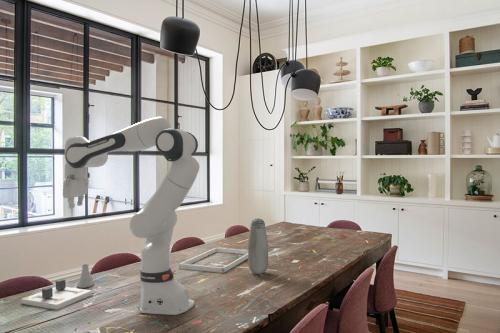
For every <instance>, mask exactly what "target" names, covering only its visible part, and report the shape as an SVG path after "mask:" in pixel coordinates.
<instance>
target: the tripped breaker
mask: <svg viewBox="0 0 500 333" xmlns="http://www.w3.org/2000/svg"><path fill="white" fill-rule="evenodd" d="M52 288H53V287H52V286H46V287H44V288H41V292H42V298H43V299H48V298H50V297H53V289H52Z"/></svg>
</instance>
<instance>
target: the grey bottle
mask: <svg viewBox="0 0 500 333" xmlns="http://www.w3.org/2000/svg"><path fill="white" fill-rule="evenodd" d="M249 227H250V229H249V234H248V239H247V250H248V259H247V261H248V268H249V271H251V273H252V274H255V275H262V274H264V273H266V272H267V271H268V267H269V239H268V235H267V231H266V230H267V229H266V223H265V221H264V219H261V218H260V217H259V218H254V219H253V220H252V221H251V223H250V226H249Z"/></svg>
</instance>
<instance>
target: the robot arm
mask: <svg viewBox="0 0 500 333" xmlns="http://www.w3.org/2000/svg"><path fill="white" fill-rule="evenodd" d="M153 147H156V149H157V151H158V152H159V153H160V154H161V155H162V156H163V157H164V158H165V160H166V161H167V162H171V164H170V167H169V169H168V170H167V171H166V174H165V176H164V177H163V179H162V181H161V182H160V184H159V186H158V187H157V189H156V190H155V192H154V193H153V194H152V196H151V197H150V198H149V199H148V200H147V201H146V202H145V204H144V205H143V206H142V207H141V208H140V209H139V210H138V212H136V213H135V214H134V215H133V216H132V217H131V219H130V220H129V230H130V232H131V234H132V235H133V236H135V237H136V238H138V239H145V240H144V241H145V242H144V245H143V246H142V248H141V252H140V253H141V254H140V258H141V259H140V262H141V263H140V264H141V265H140V266H141V268H140V269H141V270H140V276H139V277H140V281H141V285H140V286H141V287H140V295H139V301H138V303H137V308H138V309H139V313H140V314H141V313H142V314H154V315H168V316H170V315H171V316H176V315H180V314H182V313H186V312H188V311H189V310H190V309H192V308H193V307H194V305H195V300H193V299H190V298H189V292H188V290H187V288H186V287H185V286H184V285H183V284H181V283H180V282H179V281H178V280H176V278H175V277H174V276H175V274H176V270H174V271H172V269H171V266H170V265H171V264H170V262H171V261H170V257H171V256H170V255H171V254H170V251H171V250H170V249H171V241H172V237H173V232H174V228H175V226H176V223H177V221H178V215H177V212H176V210H177V209H178V208H179V207H181V205H182V203H183V202H184V200H185V198H186V197H187V195H188V194H189V192H190V190H191V188H192V187H193V185H194V183H195V181H196V178H197V176H198V174H199V171H200V163H199V162H198V160H197V159H196V158H195V157H194V156H193V155H195V153H196V152H197V150H198V148H199V142H198V139H197V138H196V136H195V135H194V134H192V133H191V132H188V131H184V130H183V129H177V128H172V126H171V123H170V122H169V121H168V120H167V118H165V117H162V116H156V117H152V118H148V119H144V120H142V121H140V122H137V123H135V124H132V125H130V126H127V127H125V128H123V129H121V130H119V131H116V132H114V133H112V134H108V135H105V136H103V137H99V138H97V139H93V140H91V141H90V140H88V139H87V138H86V137H85V136H78V135H77V136H72V137H69V138H67V139H66V142H65V145H64V161H65V165H64V181H63V183H62V184H63V185H62V187H63V188H62V196H63V198H64V199H67V202H68V208H69V209H75V208H76V205H77V206H80V207H81V206H83V201H84V197H85V195H88V193H89V192H88V191H89V186H90V185H89V179H90V176H91V175H90V172H89V171H88V168H97V167H98V168H99V167H102V166H105V164H106V163H107V162H108V158H109V155H108V153H112V152H113V153H114V152H138V151H139V152H140V151H145V150H148V149H151V148H153ZM75 198H77V202H76V203H77V204H75Z"/></svg>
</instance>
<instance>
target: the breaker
mask: <svg viewBox="0 0 500 333" xmlns="http://www.w3.org/2000/svg"><path fill="white" fill-rule="evenodd" d="M66 285H67V284H66V279H64V278H60V279H58V280H55V287H56V290H62V289H65V288H66V287H67V286H66Z"/></svg>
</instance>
